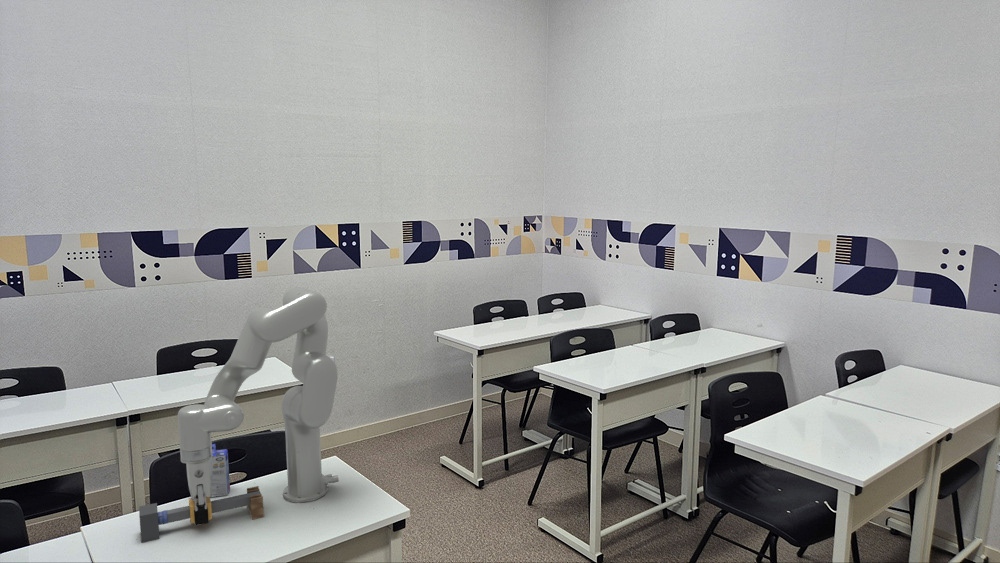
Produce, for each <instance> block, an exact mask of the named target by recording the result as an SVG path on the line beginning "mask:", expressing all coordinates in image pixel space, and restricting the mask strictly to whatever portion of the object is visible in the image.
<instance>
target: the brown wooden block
mask: <svg viewBox="0 0 1000 563" xmlns="http://www.w3.org/2000/svg"><path fill="white" fill-rule="evenodd" d="M257 491H260V487H259V485H257V486H252V487H247V488H246V494H247V493H252V492H257ZM260 492H261V491H260ZM247 509H248V512H249V514H250V516H251V520H257V519H261V518H262V519H263V518H264V517H265V510H264V509H265V508H264V496H263V494H262V493H261V494H258V495H253V496H250V505H249V506H247Z"/></svg>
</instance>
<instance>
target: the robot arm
mask: <svg viewBox="0 0 1000 563" xmlns="http://www.w3.org/2000/svg"><path fill="white" fill-rule="evenodd" d="M327 308H328V305H327V300H326V299H325V297H324V296H323V295H322V294H321V293H319V292H316V291H314V290H311V289H308V288H307V289H306V288H304V287H292V288H289V289H288V290H286V292H285V293H284V295H283V297H282V306H280V307H278V308H275V309H274V308H273V309H272V308H270V307H261V306H260V307H256V308H254V309H253V310H251V311H250V312H249V314H248V316H247V318H246V320H245V322H244V325H243V327H242V329H241V331H240V334H239V336H238V338H237V341H236V343H235V346H234V348H233V351H232V353H231V356H230V357H229V359H228V360H227V362H226V363H225V364H224V365H223V367H222V368H221V369H220V370H219V372H218V373H217V374H216V376H215V378H214V379H213V382H212V383H211V386H210V388H209V390H208V393H207V395H206V398H205V400H204V402H203V403H204V404H189V405H186V406H184V407H181V408H180V409H179V410H178V412H177V425H178V426H177V427H178V437H179V440H178V441H179V452H180V453H179V454H180V462H181V463H182V464H186V478H187V483H188V484H187V485H188V491H189V493H190V499H192V500H194V502H195V510H194V517H195V523H194V525H195V526H201V525H205V524H208V523H209V521H210V520H208V507H207V503H206V496H207V497H210V498H212V497H211V496H212V490H211V478H210V466H209V459H211V458H212V456H213V455H212V449H213V447H212V444H213V440H212V433H221V432H223V433H224V432H230V431H234V430H236V429H237V428H239V427H240V426H241V425H242V424H243V422H244V419H245V413H244V410H243V409H242V407H241V406H240V405H239V404H238V403H236V402H235V399H236V398H237V394H238V393H239V391H240V388H241V387H242V386H243V384H244V382H245V381H246V380H247V379H248V378H249V377H251V376H252V375H254V374H256V373H258V372H259V371H260V370H262V368H263V366H264V364H265V361H266V359H267V356H268V354H269V351H270V348H271V346H272V344H273V343H278V342H281V341H284V340H286V339H288V338H290V337H292V336H294V335H296V342H295V345H294V346H295V348H294V353H293V357H292V364H291V374H292V376H293V377H294V379H296V380H297V381H299V382H300V383H302V385H296V386H293V387H290V388H289V389H288V390H286V392H285V393H284V395H283V397H282V401H281V414H282V420H283V424H284V431H285V432H284V433H285V452H286V454H285V456H286V468H287V469H286V470H287V473H286V474H287V475H286V476H287V486H286V487H285V488H283V490H282V498H284V500H286V501H288V502H293V503H305V502H307V503H308V502H311V501H315V500H318V499H321V497H324V496H325V495H326V494H327V493H328V490H329V486H328V485H329V484H333V483H338V482H339V481H340V479H339V475H338V474H336V475H333V474H332V473H329V474H325V475H324V474H323V472H322V469H323V468H322V451H321V450H322V446H321V429H320V428H321V427H323V426H324V425H325V424H326V423H327V422H328V420H329V419H330V416H331V414H332V410H333V406H334V402H335V396H336V389H337V383H338V375H339V374H338V368H337V367H338V366H337V364H336V362H335V361H334V360H333V359H332V358H331V357H330V356H328V355H327V353H326V352H327V345H328V336H329V325H328V321H327V318H326V315H325V314H326V312H327ZM203 496H204V497H203ZM197 501H198V503H197Z"/></svg>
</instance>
